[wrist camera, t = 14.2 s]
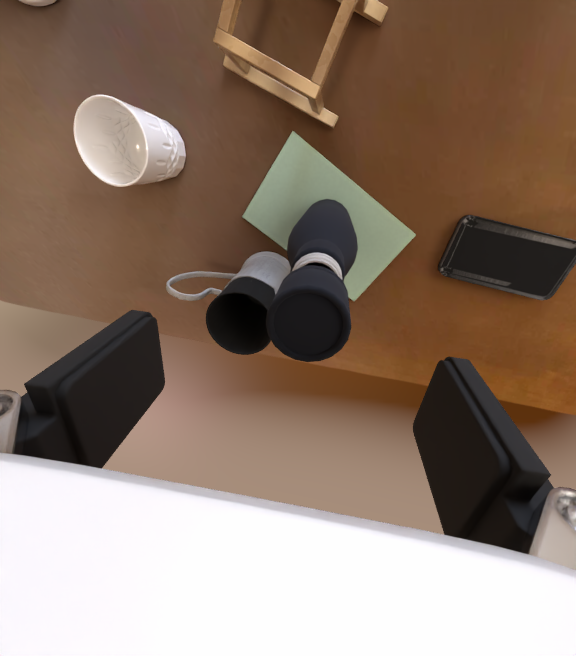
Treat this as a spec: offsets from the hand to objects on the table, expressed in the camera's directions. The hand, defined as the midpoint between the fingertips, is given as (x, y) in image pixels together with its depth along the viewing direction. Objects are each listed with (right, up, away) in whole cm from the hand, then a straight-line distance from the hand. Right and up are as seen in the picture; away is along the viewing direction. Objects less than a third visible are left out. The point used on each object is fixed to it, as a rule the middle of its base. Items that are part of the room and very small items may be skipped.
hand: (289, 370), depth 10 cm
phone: (+28, +11, +29) cm, 42 cm away
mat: (+5, +15, +30) cm, 34 cm away
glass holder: (-6, +10, +35) cm, 37 cm away
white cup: (-16, +25, +29) cm, 41 cm away
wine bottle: (+5, +15, +30) cm, 34 cm away
